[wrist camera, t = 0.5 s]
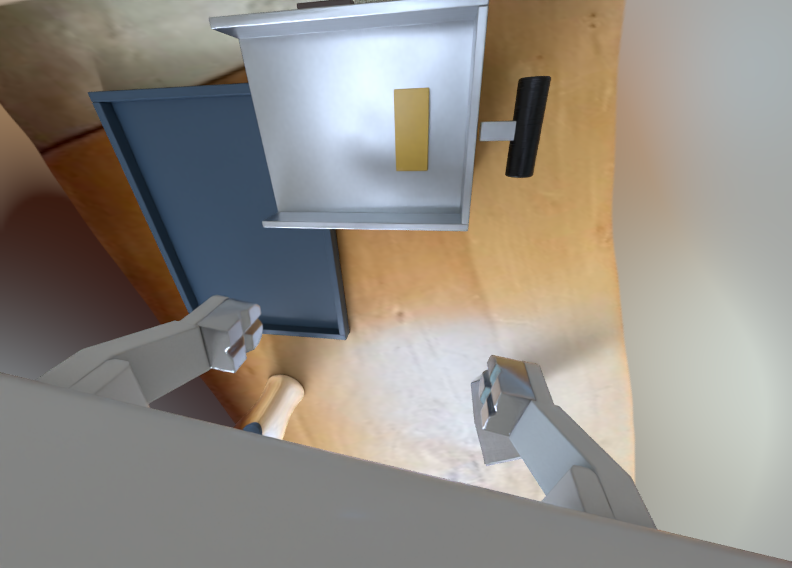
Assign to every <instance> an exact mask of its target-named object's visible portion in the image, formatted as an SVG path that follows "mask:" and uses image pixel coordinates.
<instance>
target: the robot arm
mask: <svg viewBox="0 0 792 568" xmlns="http://www.w3.org/2000/svg"><path fill="white" fill-rule="evenodd" d="M260 315H261V309H260V306H259V305H258V304H255V303H251V302H246V301H242V300H238V299H234V298H229V297H224V296H220V295H214V296H212V297H210V298H209V299H208V300H206V301H205V302H204V303H203V304H201V305H200V306H199V307H198V308H196V309H195V310H194V311H192V312H191V313H190V314H189V315H187V316H186V317H185V318H183V319H182V320H181V321H180V322H179V321H172V322H169V323H166V324H163V325H160V326H156V327H153V328H150V329H146V330H143V331H140V332H137V333H134V334H131V335H127V336H124V337H121V338H117V339H114V340H111V341H108V342H104V343H101V344H98V345H95V346H91V347H88V348H85V349H82V350H80V351H79V352H77V353H76V354H74V355H73V356H71V357H70V358H68V359H67V360H65V361H63V362H62V363H60V364H59V365H57V366H56V367H54V368H53V369H51V370H50V371H48V372H47V373H45V374H43V375H42V376H40V377H39V378H37V379H36V380H30V379H26V378H22V377H18V376H13V375H9V374H5V373H1V372H0V568H792V561H787V560H783V559H779V558H775V557H770V556H766V555H762V554H758V553H754V552H749V551H745V550H741V549H736V548H733V547H728V546H724V545H720V544H716V543H711V542H707V541H703V540H699V539H694V538H691V537H686V536H682V535H678V534H674V533H670V532H666V531H661V530H657V528H656V526H655V524H654V522H653V520H652V518H651V516H650V514H649V512H648V510H647V508H646V506H645V504H644V502H643V500H642V498H641V496H640V494H639V492H638V490H637V488H636V486H635V484H634V482H633V480H632V478H631V476H630V475H629V474H628V473H627V472H625V471H624V470H623V469H622V468H621V467H620V466H619V465H618V464H617V463H616V462H615V461H614V460H613V459H612V458H611V457H610V456H609V455H608V454H607V453H606V452H605V451H604V450H603V449H602V448H601V447H600V446H599V445H598V444H597V443H596V442H595V441H594V440H593V439H592V438H591V437H590V436H589V435H588V434H587V433H586V432H585V431H584V430H583V429H582V428H581V427H580V426H579V425H578V424H577V423H576V422H575V421H574V420H573V419H572V418H571V417H570V416H569V415H568V414H567V413H566V412H565V411H563V410H562V409H561V408H560V407H559V406H556V405H554V403H553V400H552V398H551V395H550V392H549V390H548V387H547V384H546V382H545V379H544V376H543V374H542V371H541V368H540V366H539V365H538V364H536V363H531V362H525V361H519V360H514V359H509V358H505V357H500V356H495V355H491V356H490V358H489V360H488V362H487V366H488V370H486V371H484V372H483V373H482V376H481V379H480V383H479V400H480V401H481V403H482V404H483V407H482V409H481V411H480V412H481V420H482V428H483V430H485V431H489V432H493V433H497V434H501V435H505V436H509V439H510V441H511V442H512V444H513V445H514V447H515V448H516V450H517V451H518V453H519V454H520V456H521V458H522V459H523V461H524V462H525V464H526V465H527V467H528V468H529V470H530V472H531V473H532V475H533V476H534V478H535V479H536V481H537V482H538V484H539V486H540V487H541V489H542V490H543V492H544V493H545V495H546V497H545V498H544V499H543V500H542V501H541V502H540V501H536V500H532V499H528V498H524V497H519V496H515V495H511V494H507V493H503V492H499V491H494V490H490V489H486V488H482V487H478V486H473V485H469V484H465V483H461V482H457V481H453V480H448V479H444V478H440V477H436V476H432V475H427V474H423V473H419V472H415V471H411V470H406V469H402V468H398V467H394V466H390V465H385V464H381V463H377V462H373V461H368V460H364V459H360V458H356V457H352V456H347V455H343V454H339V453H335V452H331V451H327V450H322V449H318V448H314V447H310V446H306V445H302V444H297V443H293V442H289V441H285V440H281V439H277V438H273V437H268V436H264V435H260V434H256V433H252V432H247V431H243V430H239V429H235V428H230V427H226V426H222V425H218V424H214V423H210V422H205V421H202V420H197V419H193V418H189V417H185V416H181V415H176V414H172V413H168V412H164V411H160V410H155V409H151V408H150V407H149V405H148V404H149V403H150V402H152V401H154V400H156V399H158V398H159V397H161V396H163V395H165V394H167V393H168V392H170V391H172V390H173V389H176V388H177V387H179V386H181V385H183V384H185V383H187V382H188V381H190V380H192V379H194V378H196V377H197V376H199V375H201V374H203V373H205V372H206V371H208V370H210V368H213V369H218V370H223V371H228V372H233V373H235V372H236V371H237V370H238V369H239V367H240V366H241V365H242V364H243V362H244V361H245V360H246V359H247V357H246V353H247V352H249V351H252V350H254V349H255V348H256V346H257V345H258V344H259V342H260V339H261V337H262V332H263V325H262V323H261V321H260V320H259V319H258V317H259V316H260Z"/></svg>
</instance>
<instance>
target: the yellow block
mask: <svg viewBox="0 0 792 568" xmlns="http://www.w3.org/2000/svg"><path fill="white" fill-rule="evenodd" d="M429 97H430V89H429V88H428V87H427V88H407V89H394V120H395V153H396V171H427V170H428V146H429Z"/></svg>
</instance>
